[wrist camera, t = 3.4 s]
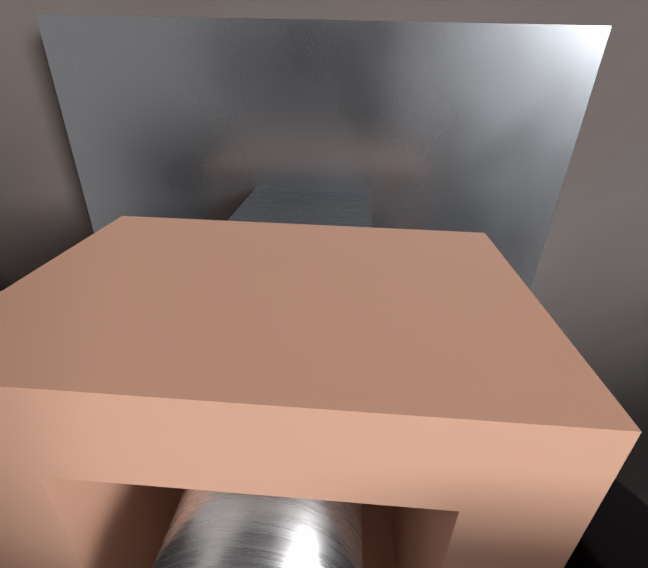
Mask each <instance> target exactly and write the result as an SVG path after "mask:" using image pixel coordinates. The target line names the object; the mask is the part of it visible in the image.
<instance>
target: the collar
mask: <svg viewBox="0 0 648 568" xmlns="http://www.w3.org/2000/svg"><path fill="white" fill-rule="evenodd" d="M640 434H641V430H640V429H639V428H638V426H637V425H636V424H635V423H634V421H633V420H632V419H631V418H630V416H629V415H628V414H627V413H626V411H625V410H624V409H623V407H622V406H621V405H620V404H619V402H618V401H617V400H616V399H615V397H614V396H613V395H612V393H611V392H610V391H609V390H608V388H607V387H606V386H605V385H604V383H603V382H602V381H601V380H600V378H599V377H598V376H597V374H596V373H595V372H594V371H593V369H592V368H591V367H590V366H589V364H588V363H587V362H586V361H585V359H584V358H583V357H582V355H581V354H580V353H579V352H578V350H577V349H576V348H575V347H574V345H573V344H572V343H571V341H570V340H569V339H568V338H567V336H566V335H565V334H564V333H563V331H562V330H561V329H560V328H559V326H558V325H557V324H556V322H555V321H554V320H553V319H552V317H551V316H550V315H549V314H548V312H547V311H546V310H545V309H544V307H543V306H542V305H541V303H540V302H539V301H538V300H537V298H536V297H535V296H534V295H533V293H532V292H531V291H530V289H529V288H528V287H527V286H526V284H525V283H524V282H523V281H522V279H521V278H520V277H519V276H518V274H517V273H516V272H515V270H514V269H513V268H512V267H511V265H510V264H509V263H508V262H507V260H506V259H505V258H504V257H503V255H502V254H501V253H500V251H499V250H498V249H497V248H496V246H495V245H494V244H493V243H492V241H491V240H490V239H489V238H488V236H487V235H486V234H485V233H479V232H457V231H436V230H415V229H393V228H372V227H350V226H329V225H308V224H286V223H265V222H244V221H222V220H201V219H179V218H158V217H137V216H121V217H120V218H118V219H116V220H115V221H113V222H112V223H110V224H108V225H107V226H105V227H104V228H102V229H100V230H99V231H97V232H96V233H94V234H92V235H91V236H89V237H87V238H86V239H84V240H83V241H81V242H79V243H78V244H76V245H75V246H73V247H71V248H70V249H68V250H67V251H65V252H63V253H62V254H60V255H59V256H57V257H55V258H54V259H52V260H51V261H49V262H47V263H46V264H44V265H43V266H41V267H39V268H38V269H36V270H35V271H33V272H31V273H30V274H28V275H27V276H25V277H23V278H22V279H20V280H18V281H17V282H15V283H14V284H12V285H10V286H9V287H7V288H6V289H4V290H2V291H1V292H0V568H152V567H153V565H154V562H155V560H156V558H157V555H158V553H159V550H160V548H161V545H162V543H163V540H164V538H165V536H166V533H167V531H168V528H169V526H170V523H171V521H172V519H173V516H174V514H175V511H176V509H177V506H178V504H179V501H180V499H181V497H182V494H183V492H184V489H194V490H206V491H218V492H230V493H242V494H254V495H266V496H278V497H290V498H302V499H314V500H327V501H339V502H351V503H362V568H564V566H565V565H566V563H567V561H568V559H569V558H570V556H571V554H572V553H573V551H574V549H575V547H576V546H577V544H578V542H579V540H580V539H581V537H582V535H583V533H584V532H585V530H586V528H587V526H588V525H589V523H590V521H591V519H592V518H593V516H594V514H595V512H596V511H597V509H598V507H599V506H600V504H601V502H602V500H603V499H604V497H605V495H606V493H607V492H608V490H609V488H610V486H611V485H612V483H613V481H614V479H615V478H616V476H617V474H618V472H619V471H620V469H621V467H622V465H623V464H624V462H625V460H626V459H627V457H628V455H629V453H630V452H631V450H632V448H633V446H634V445H635V443H636V441H637V439H638V438H639V436H640Z"/></svg>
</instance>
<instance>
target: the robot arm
mask: <svg viewBox="0 0 648 568" xmlns="http://www.w3.org/2000/svg"><path fill="white" fill-rule="evenodd" d="M564 568H648V504H646V503H645V502H644V501H643V500H642V499H640V498H639V497H638V496H637V495H636V494H635V493H633V492H632V491H631V490H630V489H629V488H627V487H626V486H625V485H624V484H623V483H622V482H620V481H619V480H618V479H617V478H615V479H614V481H613V483H612V485H611V486H610V488H609V490H608V492H607V493H606V495H605V497H604V499H603V500H602V502H601V504H600V506H599V507H598V509H597V511H596V512H595V514H594V516H593V518H592V519H591V521H590V523H589V525H588V526H587V528H586V530H585V532H584V533H583V535H582V537H581V539H580V540H579V542H578V544H577V546H576V547H575V549H574V551H573V553H572V554H571V556H570V558H569V559H568V561H567V563H566V565H565V566H564Z"/></svg>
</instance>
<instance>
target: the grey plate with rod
mask: <svg viewBox="0 0 648 568" xmlns="http://www.w3.org/2000/svg"><path fill="white" fill-rule="evenodd" d="M35 15H36V18H37V22H38V26H39V30H40V33H41V37H42V41H43V45H44V48H45V52H46V56H47V60H48V63H49V67H50V71H51V74H52V78H53V82H54V86H55V89H56V93H57V97H58V101H59V104H60V108H61V112H62V116H63V119H64V123H65V127H66V130H67V134H68V138H69V142H70V145H71V149H72V153H73V157H74V160H75V164H76V168H77V172H78V175H79V179H80V183H81V186H82V190H83V194H84V198H85V201H86V205H87V209H88V213H89V216H90V220H91V224H92V227H93V231H94V233H96V232H97V231H99V230H100V229H102V228H104V227H105V226H107V225H108V224H110V223H112V222H113V221H115V220H116V219H118V218H120V217H121V216H137V217H158V218H179V219H201V220H222V221H244V222H265V223H286V224H308V225H329V226H350V227H372V228H393V229H415V230H436V231H457V232H479V233H485V234H486V235H487V236H488V238H489V239H490V240H491V241H492V243H493V244H494V245H495V246H496V248H497V249H498V250H499V251H500V253H501V254H502V255H503V257H504V258H505V259H506V260H507V262H508V263H509V264H510V265H511V267H512V268H513V269H514V270H515V272H516V273H517V274H518V276H519V277H520V278H521V279H522V281H523V282H524V283H525V284H526V286H527V287H528V288H529V289H530V288H531V285H532V282H533V279H534V275H535V272H536V269H537V266H538V262H539V259H540V256H541V253H542V250H543V246H544V243H545V240H546V237H547V233H548V230H549V227H550V224H551V220H552V217H553V214H554V211H555V208H556V204H557V201H558V198H559V195H560V191H561V188H562V185H563V182H564V178H565V175H566V172H567V169H568V166H569V162H570V159H571V156H572V153H573V149H574V146H575V143H576V140H577V136H578V133H579V130H580V127H581V124H582V120H583V117H584V114H585V111H586V107H587V104H588V101H589V98H590V94H591V91H592V88H593V85H594V82H595V78H596V75H597V72H598V69H599V65H600V62H601V59H602V56H603V52H604V49H605V46H606V43H607V40H608V36H609V33H610V30H611V27H612V26H597V25H547V24H497V23H447V22H398V21H348V20H298V19H249V18H199V17H149V16H99V15H50V14H35ZM152 568H362V503H351V502H339V501H327V500H314V499H302V498H290V497H278V496H266V495H254V494H242V493H230V492H218V491H206V490H194V489H184V492H183V494H182V497H181V499H180V501H179V504H178V506H177V509H176V511H175V514H174V516H173V519H172V521H171V523H170V526H169V528H168V531H167V533H166V536H165V538H164V540H163V543H162V545H161V548H160V550H159V553H158V555H157V558H156V560H155V562H154V565H153V567H152Z"/></svg>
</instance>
